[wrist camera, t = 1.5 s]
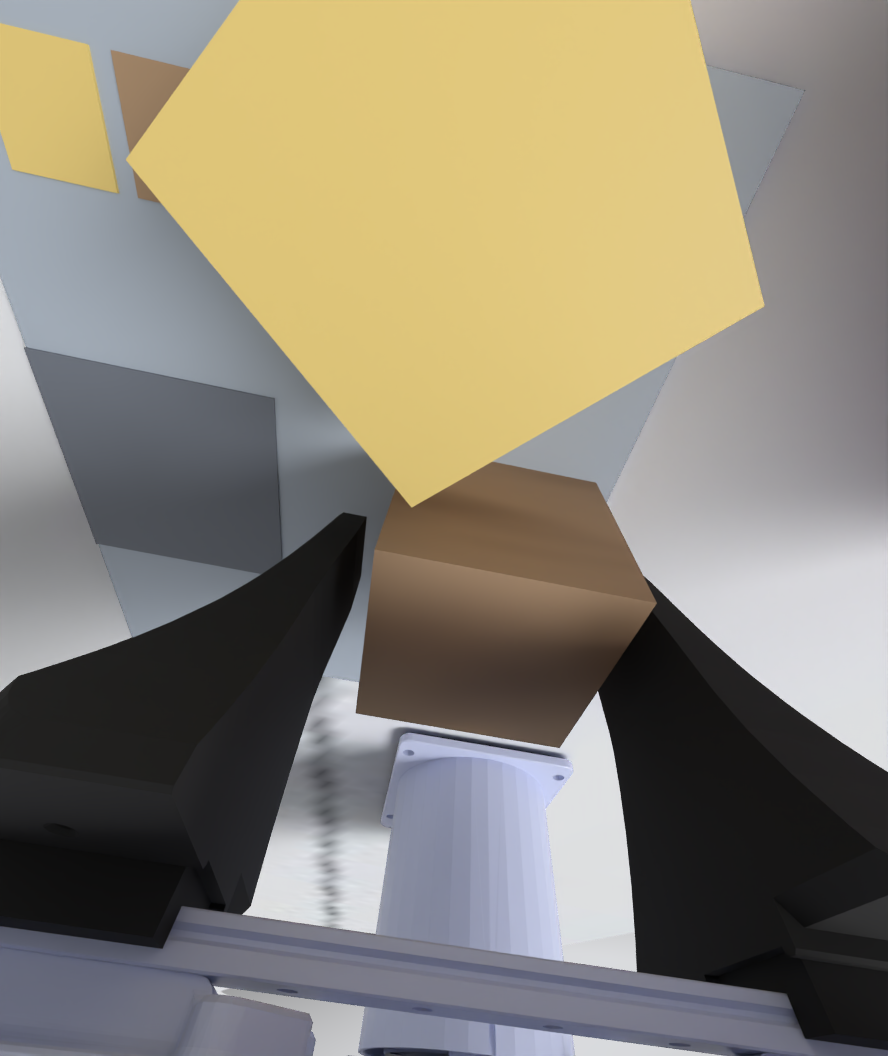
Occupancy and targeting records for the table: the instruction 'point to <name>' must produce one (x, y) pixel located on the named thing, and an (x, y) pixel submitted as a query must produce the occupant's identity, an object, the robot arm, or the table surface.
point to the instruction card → (209, 326)
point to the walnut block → (499, 606)
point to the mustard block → (459, 208)
